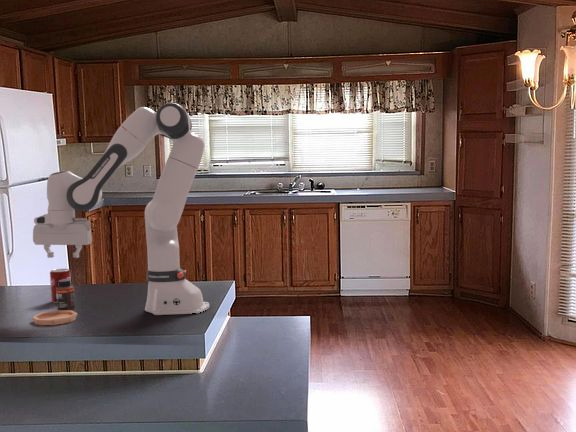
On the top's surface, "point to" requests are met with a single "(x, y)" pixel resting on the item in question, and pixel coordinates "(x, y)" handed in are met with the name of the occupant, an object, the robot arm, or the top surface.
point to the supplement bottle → (65, 295)
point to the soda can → (55, 277)
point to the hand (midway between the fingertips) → (63, 257)
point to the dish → (55, 317)
